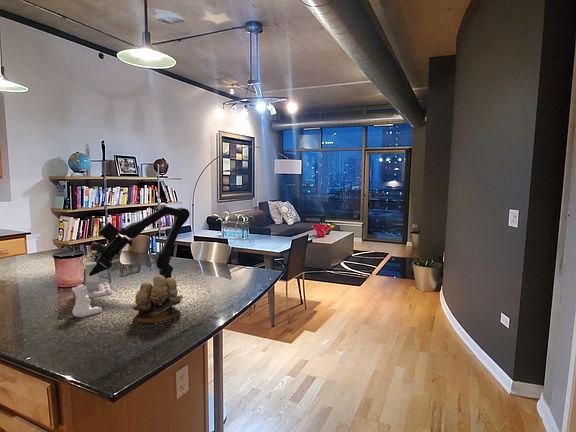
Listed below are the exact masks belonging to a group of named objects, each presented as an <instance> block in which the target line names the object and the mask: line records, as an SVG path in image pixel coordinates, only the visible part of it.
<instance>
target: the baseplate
mask: <svg viewBox="0 0 576 432" xmlns="http://www.w3.org/2000/svg"><path fill="white" fill-rule="evenodd" d="M84 286H85V287H86V285H84ZM87 295H88V296H89V298H94V297H101V296H108V295H112V288H111V286H110V283H108V282H104V283H101V284H100V283H99V290H94V291H88V294H87ZM77 297H78V296H77V295H76V294H75V293H74V299H75V300H76V299H77Z"/></svg>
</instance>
